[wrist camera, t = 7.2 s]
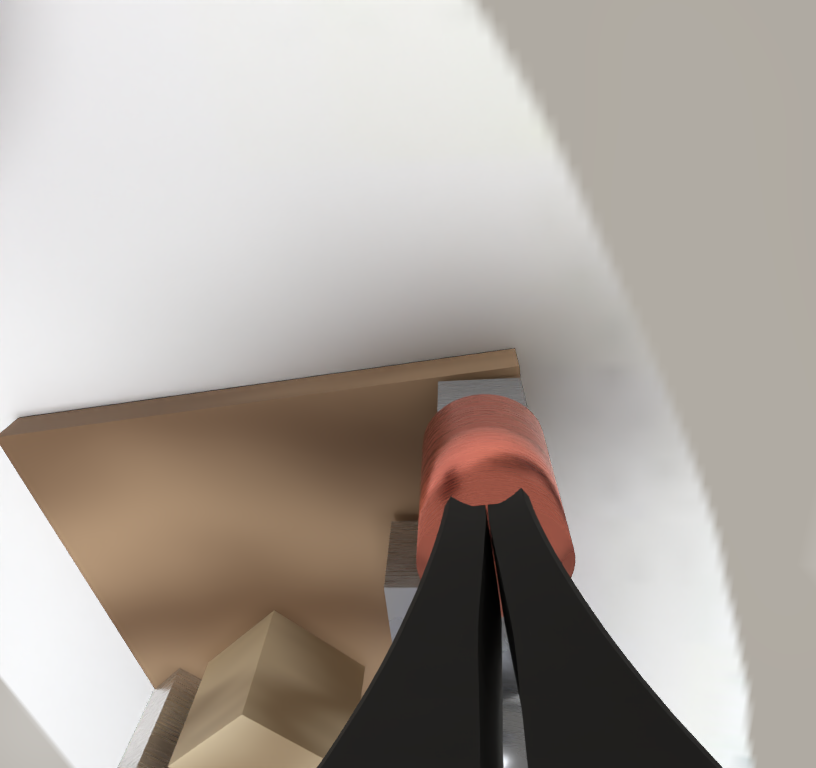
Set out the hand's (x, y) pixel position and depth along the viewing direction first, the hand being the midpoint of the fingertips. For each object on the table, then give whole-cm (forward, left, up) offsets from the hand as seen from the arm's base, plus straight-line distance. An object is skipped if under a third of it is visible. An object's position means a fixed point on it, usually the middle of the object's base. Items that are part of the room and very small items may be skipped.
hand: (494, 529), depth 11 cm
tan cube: (-10, +8, -5) cm, 14 cm away
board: (-8, +6, -6) cm, 11 cm away
